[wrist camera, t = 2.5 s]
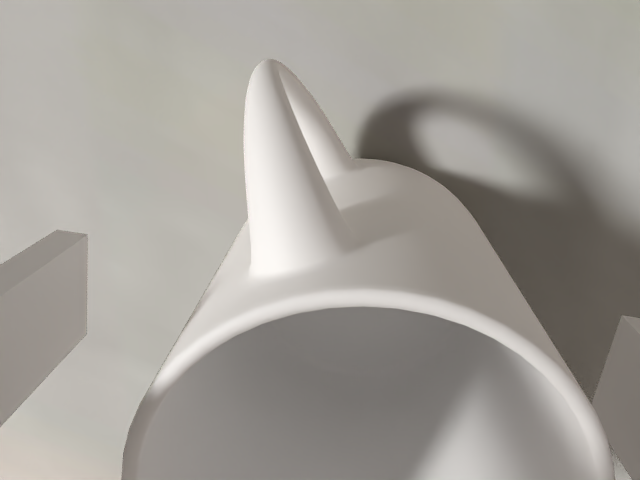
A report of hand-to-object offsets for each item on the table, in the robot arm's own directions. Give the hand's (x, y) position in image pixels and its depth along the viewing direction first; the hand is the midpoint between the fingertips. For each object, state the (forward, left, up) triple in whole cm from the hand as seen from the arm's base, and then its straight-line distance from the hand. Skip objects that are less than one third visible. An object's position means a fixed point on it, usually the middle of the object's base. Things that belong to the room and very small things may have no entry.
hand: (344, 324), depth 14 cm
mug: (0, 0, -6) cm, 6 cm away
